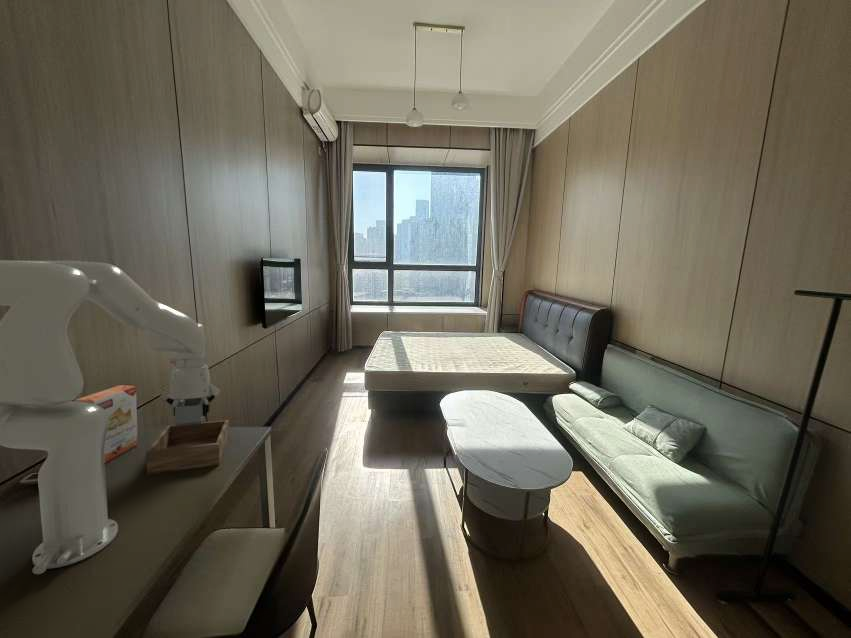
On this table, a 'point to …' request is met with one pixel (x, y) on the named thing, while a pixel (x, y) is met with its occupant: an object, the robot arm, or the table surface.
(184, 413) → the small crate
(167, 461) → the big crate
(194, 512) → the table surface
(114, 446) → the cracker box
